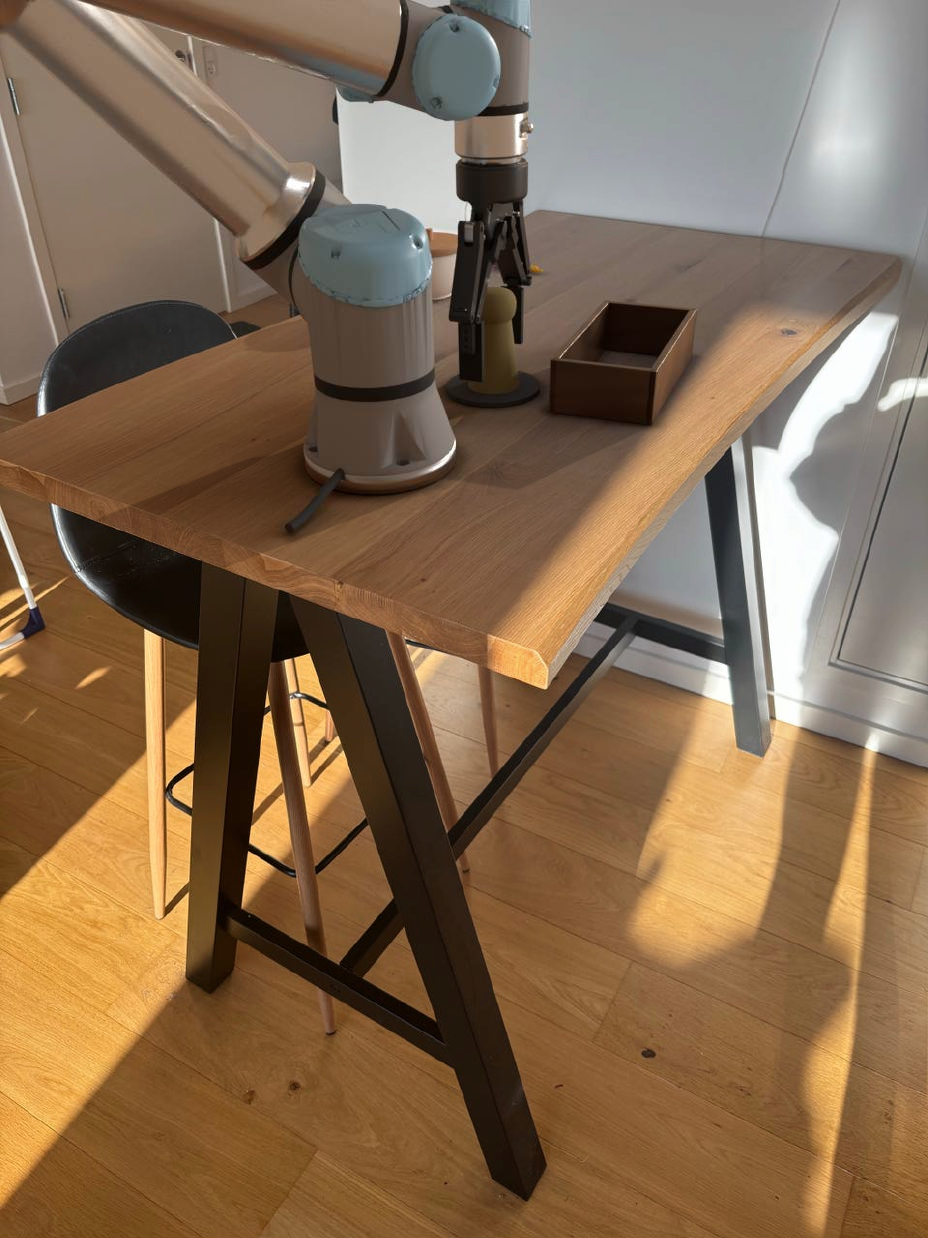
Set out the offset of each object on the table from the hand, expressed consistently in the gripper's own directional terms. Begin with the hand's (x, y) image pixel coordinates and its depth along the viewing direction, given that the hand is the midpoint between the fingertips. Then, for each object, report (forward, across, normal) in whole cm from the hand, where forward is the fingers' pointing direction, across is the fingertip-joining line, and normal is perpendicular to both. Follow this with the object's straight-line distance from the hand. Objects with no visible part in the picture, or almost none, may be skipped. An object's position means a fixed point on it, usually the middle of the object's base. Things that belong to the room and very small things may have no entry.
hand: (492, 360), depth 113 cm
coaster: (+3, 0, 0) cm, 3 cm away
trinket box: (+4, +33, +22) cm, 40 cm away
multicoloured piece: (+4, +51, +17) cm, 54 cm away
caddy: (+3, +7, -14) cm, 16 cm away
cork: (+3, 0, 0) cm, 3 cm away
